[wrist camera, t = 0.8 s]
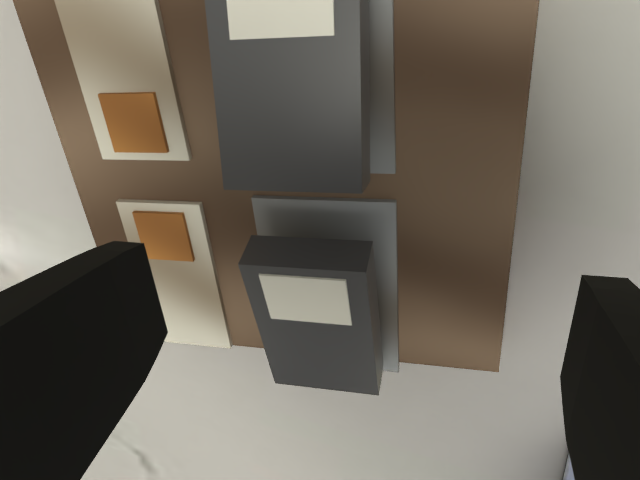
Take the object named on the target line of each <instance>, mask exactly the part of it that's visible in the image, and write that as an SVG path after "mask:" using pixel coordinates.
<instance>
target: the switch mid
mask: <svg viewBox="0 0 640 480" xmlns="http://www.w3.org/2000/svg"><path fill="white" fill-rule="evenodd" d="M205 10H206V19H207V29H208V39H209V49H210V59H211V69H212V79H213V89H214V99H215V109H216V119H217V129H218V138H219V148H220V158H221V168H222V178H223V188H224V190H249V191H284V192H319V193H354V194H362V193H363V192H364V190H365V189H366V187H367V186H368V184H369V183H370V61H369V0H205Z"/></svg>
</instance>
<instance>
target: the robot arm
mask: <svg viewBox="0 0 640 480" xmlns="http://www.w3.org/2000/svg"><path fill="white" fill-rule="evenodd" d="M167 334H168V330H167V327H166V323H165V319H164V315H163V312H162V308H161V304H160V301H159V297H158V293H157V289H156V286H155V282H154V278H153V275H152V271H151V267H150V264H149V260H148V256H147V252H146V249H145V245H144V243H137V242H123V241H112V242H109V243H106V244H104V245H101V246H98V247H96V248H93V249H91V250H88V251H86V252H84V253H82V254H79V255H77V256H75V257H73V258H70V259H68V260H66V261H64V262H62V263H60V264H58V265H55V266H53V267H51V268H49V269H47V270H45V271H43V272H41V273H39V274H37V275H34V276H32V277H30V278H28V279H26V280H24V281H22V282H20V283H18V284H16V285H14V286H11V287H9V288H7V289H5V290H3V291H1V292H0V480H80V479H81V478H82V476H83V475H84V473H85V472H86V470H87V469H88V467H89V466H90V464H91V463H92V461H93V460H94V458H95V457H96V455H97V454H98V452H99V451H100V449H101V448H102V446H103V445H104V443H105V442H106V440H107V439H108V437H109V436H110V434H111V433H112V431H113V430H114V428H115V427H116V425H117V423H118V422H119V420H120V419H121V417H122V416H123V414H124V413H125V411H126V410H127V408H128V407H129V405H130V404H131V402H132V401H133V399H134V397H135V396H136V394H137V393H138V391H139V390H140V388H141V386H142V385H143V383H144V382H145V380H146V378H147V376H148V374H149V372H150V370H151V368H152V366H153V364H154V362H155V360H156V358H157V356H158V354H159V351H160V349H161V347H162V345H163V342H164V340H165V338H166V336H167ZM560 380H561V392H562V404H563V415H564V424H565V434H566V441H567V446H568V451H569V454H568V459H567V463H566V468H565V473H564V477H563V480H640V289H639V288H638V287H637V286H636V285H635V284H633V283H632V282H631V281H630V280H629V279H628V278H617V277H604V276H590V275H582V277H581V282H580V287H579V291H578V296H577V301H576V305H575V310H574V315H573V320H572V324H571V329H570V334H569V338H568V343H567V348H566V352H565V357H564V362H563V367H562V371H561V376H560Z"/></svg>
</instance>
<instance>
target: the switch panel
mask: <svg viewBox="0 0 640 480" xmlns="http://www.w3.org/2000/svg"><path fill="white" fill-rule="evenodd" d="M13 3H14V6H15V9H16V11H17V14H18V17H19V20H20V23H21V26H22V29H23V32H24V35H25V38H26V41H27V44H28V47H29V50H30V53H31V55H32V58H33V61H34V64H35V67H36V70H37V73H38V76H39V79H40V82H41V85H42V88H43V91H44V94H45V97H46V100H47V102H48V105H49V108H50V111H51V114H52V117H53V120H54V123H55V126H56V129H57V132H58V135H59V138H60V141H61V144H62V146H63V149H64V152H65V155H66V158H67V161H68V164H69V167H70V170H71V173H72V176H73V179H74V182H75V185H76V188H77V190H78V193H79V196H80V199H81V202H82V205H83V208H84V211H85V214H86V217H87V220H88V223H89V226H90V229H91V232H92V234H93V237H94V240H95V243H96V246H97V247H98V246H101V245H104V244H106V243H109V242H112V241H123V242H137V243H144V245H145V249H146V252H147V256H148V260H149V264H150V267H151V271H152V275H153V278H154V282H155V286H156V289H157V293H158V297H159V301H160V304H161V308H162V312H163V315H164V319H165V323H166V327H167V330H168V334H167V336H166V338H165V340H164V342H172V343H182V344H191V345H201V346H210V347H220V348H230V349H231V347H232V345H238V346H248V347H257V348H264V346H263V342H262V339H261V336H260V333H259V330H258V327H257V323H256V320H255V317H254V314H253V311H252V307H251V304H250V301H249V298H248V295H247V292H246V288H245V285H244V282H243V279H242V276H241V272H240V269H239V266H238V263H239V261H240V259H241V257H242V254H243V252H244V250H245V248H246V246H247V243H248V241H249V239H250V237H251V235H261V236H281V237H301V238H321V239H341V240H362V241H373V248H374V260H375V272H376V283H377V295H378V306H379V318H380V330H381V341H382V353H383V371H390V372H399V362H405V363H414V364H424V365H434V366H444V367H454V368H464V369H473V370H483V371H493V372H499V364H500V355H501V345H502V336H503V327H504V318H505V309H506V300H507V290H508V281H509V272H510V263H511V254H512V245H513V236H514V226H515V217H516V208H517V199H518V190H519V181H520V171H521V162H522V153H523V144H524V135H525V126H526V117H527V107H528V98H529V89H530V80H531V71H532V62H533V52H534V43H535V34H536V25H537V16H538V7H539V0H369V61H370V183H369V184H368V186H367V187H366V189H365V190H364V192H363V193H362V194H354V193H319V192H284V191H249V190H224V188H223V178H222V168H221V158H220V148H219V138H218V129H217V119H216V109H215V99H214V89H213V79H212V69H211V59H210V49H209V39H208V29H207V19H206V10H205V0H13Z"/></svg>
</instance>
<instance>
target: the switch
mask: <svg viewBox="0 0 640 480" xmlns="http://www.w3.org/2000/svg"><path fill="white" fill-rule="evenodd" d="M238 266H239V269H240V272H241V276H242V279H243V282H244V285H245V288H246V292H247V295H248V298H249V301H250V304H251V307H252V311H253V314H254V317H255V320H256V323H257V327H258V330H259V333H260V336H261V339H262V342H263V346H264V349H265V352H266V355H267V358H268V361H269V365H270V368H271V371H272V374H273V377H274V381H275V383H278V384H287V385H295V386H304V387H312V388H321V389H329V390H338V391H346V392H355V393H363V394H372V395H379V390H380V384H381V377H382V371H383V353H382V341H381V330H380V318H379V306H378V295H377V283H376V272H375V260H374V248H373V241H362V240H341V239H321V238H301V237H281V236H261V235H251V237H250V239H249V241H248V243H247V246H246V248H245V250H244V252H243V254H242V257H241V259H240V261H239V263H238Z"/></svg>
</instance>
